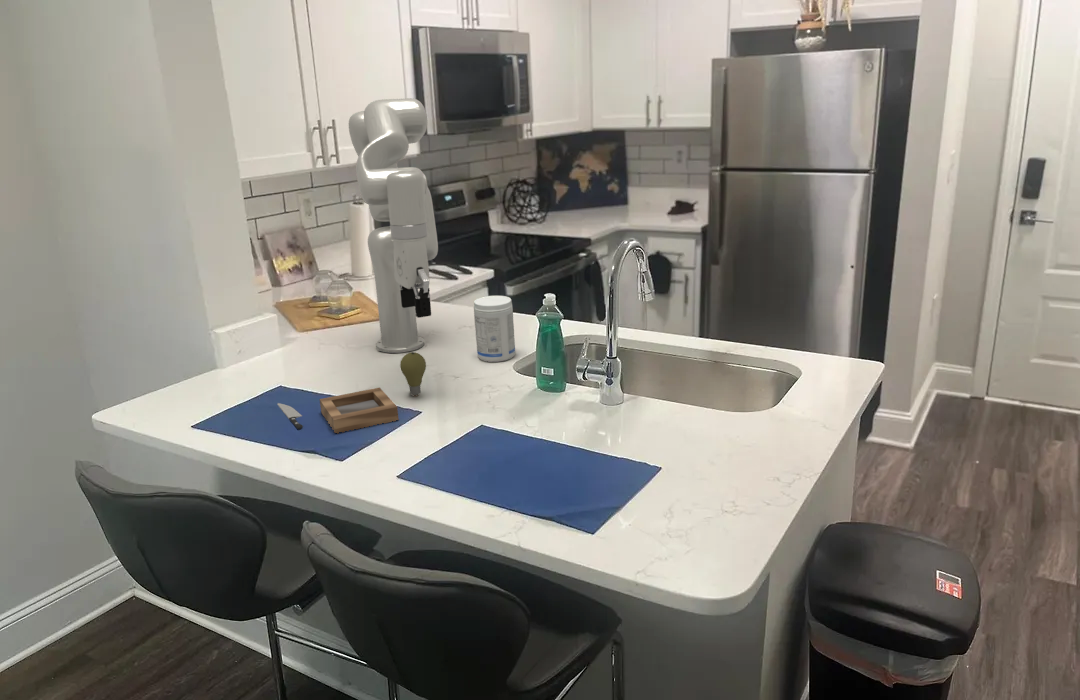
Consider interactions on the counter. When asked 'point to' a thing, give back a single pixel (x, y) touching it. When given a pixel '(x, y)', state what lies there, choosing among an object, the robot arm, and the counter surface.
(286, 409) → the chef's knife
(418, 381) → the light bulb
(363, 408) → the cradle
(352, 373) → the counter surface
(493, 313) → the supplement tub
